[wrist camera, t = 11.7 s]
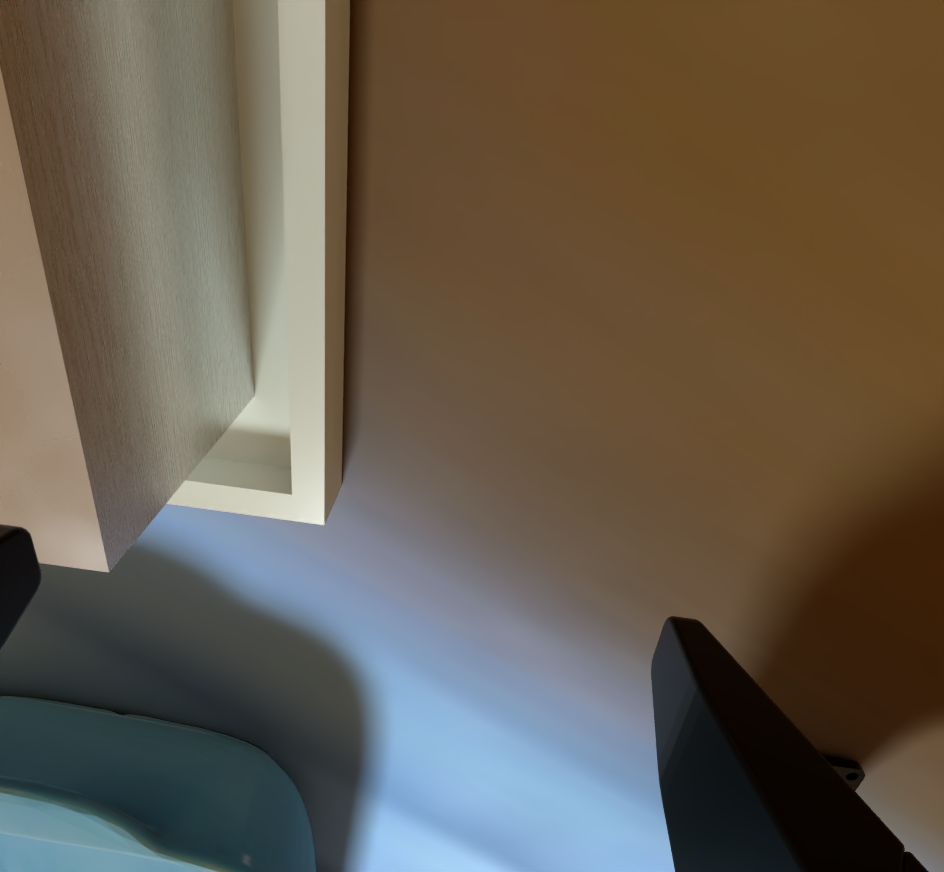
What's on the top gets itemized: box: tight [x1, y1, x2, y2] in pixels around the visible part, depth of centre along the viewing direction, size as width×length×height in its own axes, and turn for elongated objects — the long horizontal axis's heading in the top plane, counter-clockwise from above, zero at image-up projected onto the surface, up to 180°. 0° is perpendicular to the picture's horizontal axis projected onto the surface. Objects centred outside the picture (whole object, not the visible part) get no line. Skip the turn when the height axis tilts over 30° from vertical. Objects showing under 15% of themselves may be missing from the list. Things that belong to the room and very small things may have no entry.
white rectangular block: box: [0, 0, 255, 572], centre depth 13 cm, size 5×12×8 cm, turn 173°
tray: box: [166, 0, 350, 525], centre depth 17 cm, size 19×10×2 cm, turn 173°
